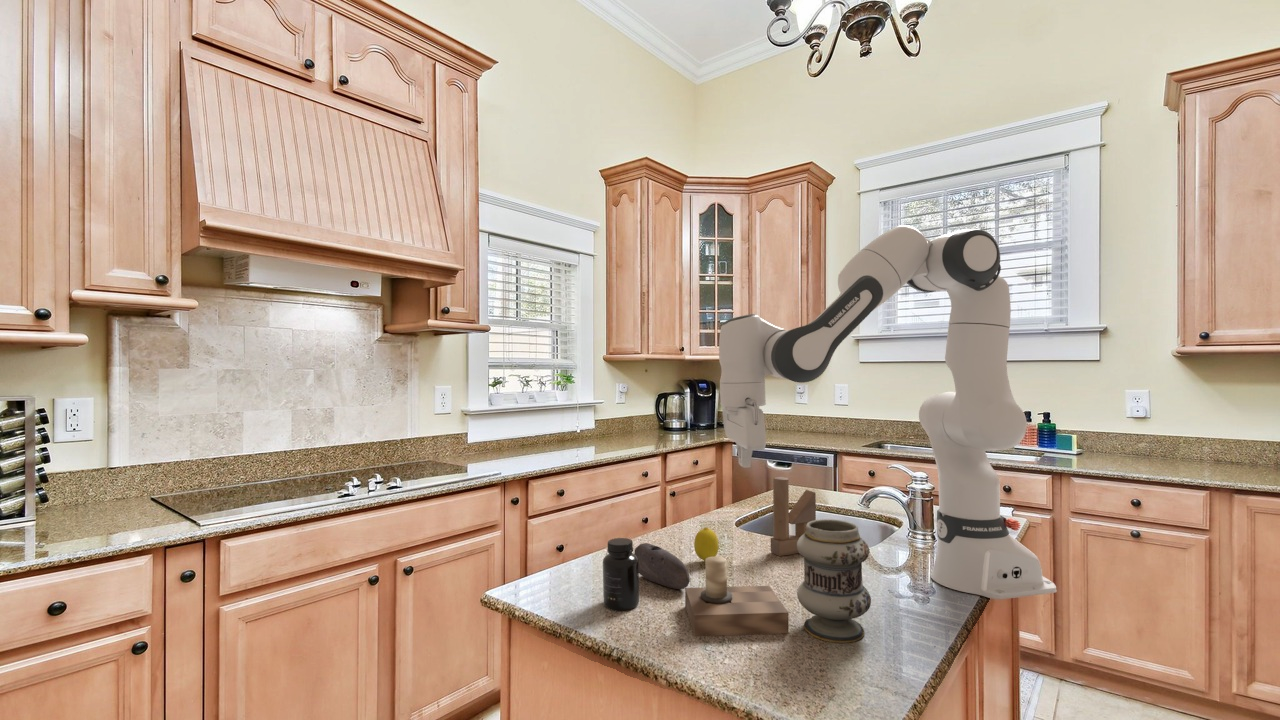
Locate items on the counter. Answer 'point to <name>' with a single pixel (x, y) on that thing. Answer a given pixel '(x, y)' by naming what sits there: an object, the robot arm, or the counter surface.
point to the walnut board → (737, 612)
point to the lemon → (706, 544)
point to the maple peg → (716, 581)
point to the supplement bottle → (620, 575)
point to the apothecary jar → (833, 580)
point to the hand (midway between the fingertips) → (744, 466)
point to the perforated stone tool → (661, 566)
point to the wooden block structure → (789, 517)
